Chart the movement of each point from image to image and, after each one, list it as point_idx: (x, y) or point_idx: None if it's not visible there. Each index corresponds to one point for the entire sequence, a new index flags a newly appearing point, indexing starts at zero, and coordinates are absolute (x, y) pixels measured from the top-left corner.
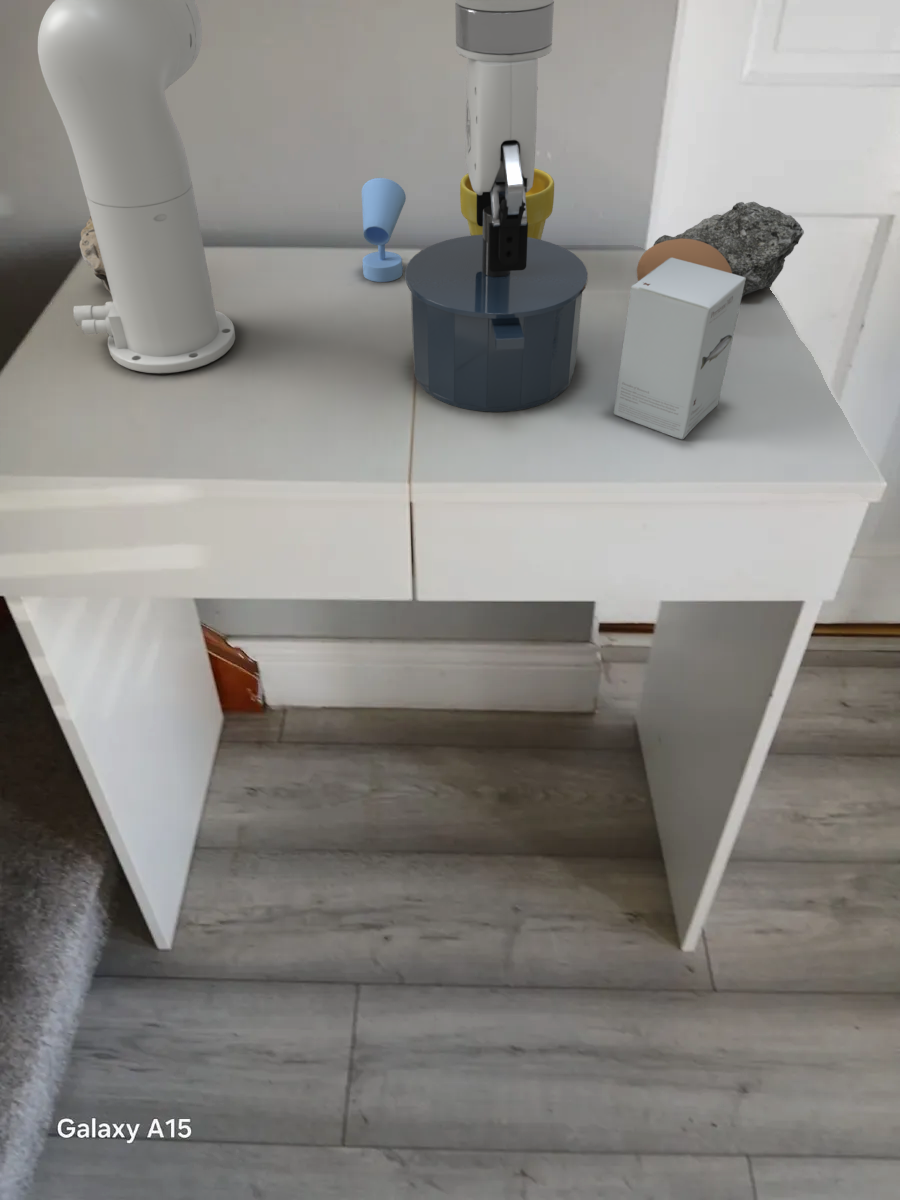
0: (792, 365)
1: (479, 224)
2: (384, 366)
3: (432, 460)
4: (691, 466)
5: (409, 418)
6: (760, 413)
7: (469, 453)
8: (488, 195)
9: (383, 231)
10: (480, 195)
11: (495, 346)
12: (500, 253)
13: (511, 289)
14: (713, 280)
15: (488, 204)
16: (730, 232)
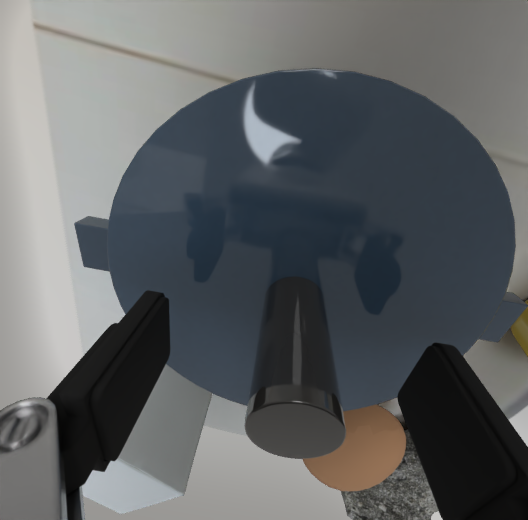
0: (233, 425)
1: (431, 346)
2: (359, 50)
3: (87, 76)
4: (98, 322)
5: (192, 63)
6: None
7: (106, 134)
8: (464, 444)
9: None
10: (479, 430)
11: (95, 217)
12: (96, 341)
13: (206, 301)
14: (105, 498)
15: (446, 414)
16: (394, 501)
